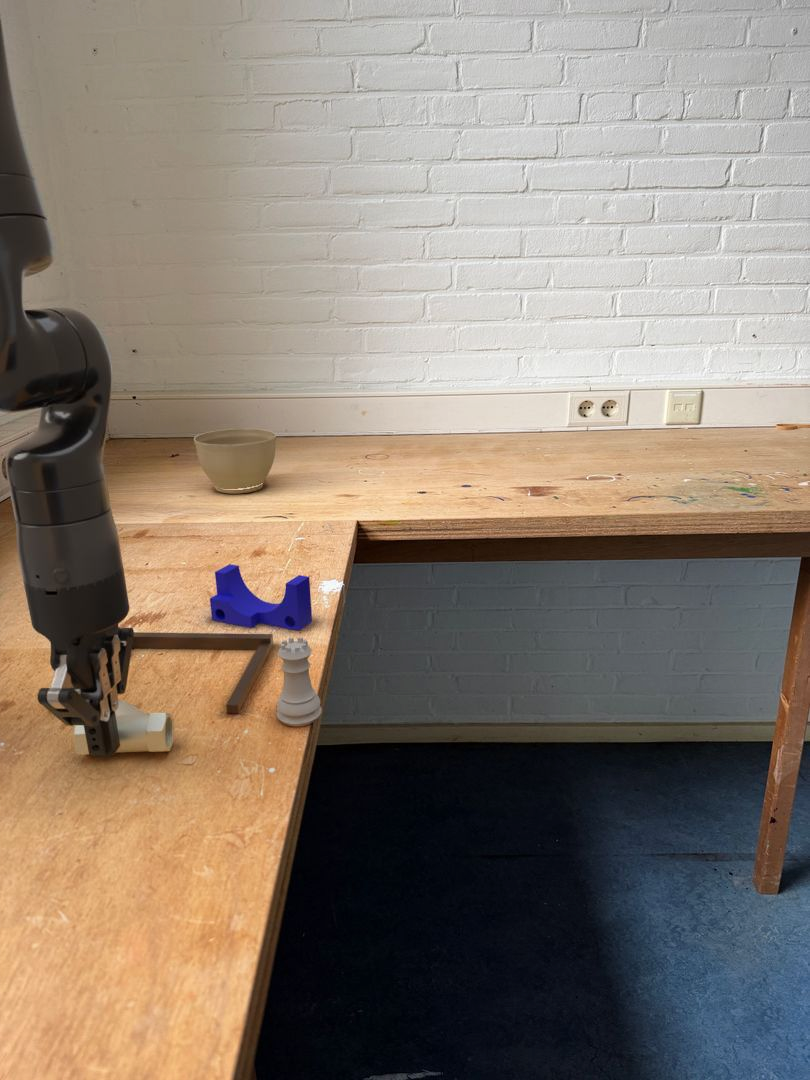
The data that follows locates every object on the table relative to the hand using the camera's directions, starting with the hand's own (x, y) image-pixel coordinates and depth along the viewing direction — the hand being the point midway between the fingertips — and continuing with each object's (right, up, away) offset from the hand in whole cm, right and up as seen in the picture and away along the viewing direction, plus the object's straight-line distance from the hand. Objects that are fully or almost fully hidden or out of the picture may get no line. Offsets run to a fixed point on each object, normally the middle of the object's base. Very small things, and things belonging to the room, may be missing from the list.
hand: (105, 753), depth 70 cm
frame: (+1, +4, +17) cm, 17 cm away
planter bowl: (-7, +29, +93) cm, 97 cm away
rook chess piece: (+16, +1, +9) cm, 18 cm away
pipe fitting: (+1, -1, +5) cm, 6 cm away
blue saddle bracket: (+8, +8, +31) cm, 33 cm away
